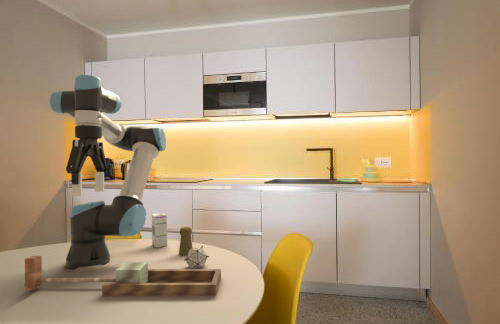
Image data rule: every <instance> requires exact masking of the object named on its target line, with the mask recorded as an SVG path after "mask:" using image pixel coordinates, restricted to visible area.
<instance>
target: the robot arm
mask: <svg viewBox="0 0 500 324" xmlns="http://www.w3.org/2000/svg"><path fill="white" fill-rule="evenodd" d="M73 88H74V90H59V91H54V92H52V93H51V94H50V97H49V105H50V108H51V109H52V111H53V112H54V113H57V114H68V115H69V116H71V117H73V118H74V124H75V127H74V137H75V139H72V146H71V150H70V153H69V157H68V161H67V165H66V167H65V171H66V173H67V174H70V175H71V181H70V182H71V197H77V196H78V197H82V196H83V173H81V171H82V169H83V166H84V165H85V162H86V159H87V158H88V157H90V159H91V161H92V164H93V166H94V169H95V170H96V171H95V172H94V192H101V193H102V192H105V173H107V172H108V169H109V168H108V164H107V160H106V156H105V155H106V154H105V152H104V144H103V142H99V141H98V140H99V139H102V137H103V139H104V140H105V142H107V143H108V144H110V145H112V146H113V147H116V148H118V149H121V150H123V151H128V152H133V155H132V159H131V160H130V163H129V166H128V169H127V172H126V175H125V178H124V181H123V183H122V185H121V189H120V192H119V194H118V195H116V196H114V198H113V199H112V202H111V204H106V203H105V200H97V201H91V202H86V203H79V204H75V205H73V206H72V207H71V209H70V216H69V218H70V247H69V249H68V253H67V254H66V258H65V267H66V268H67V269H72V270H76V269H77V268H81V267H82V268H83V267H84V268H86V267H92V266H103V265H106V264H108V263H109V262H110V261H111V254H110V251H109V248H108V245H107V243H106V236H107V237H124V238H125V237H131V236H136V235H139V234H140V232H142V230H143V229H144V226H145V224H146V221H147V217H146V216H147V211H146V208H145V206H144V203H143V202H142V199H143V196H144V192H145V189H146V185H147V182H148V179H149V175H150V171H151V168H152V166H153V162H154V159H156V158H158V156H159V155H160V154H159V153H160V152H163V151H165V150H166V148H167V139H166V135H165V131H164V129H163V128H162V126H158V125H150V126H149V125H141V126H140V125H139V126H136V125H135V126H132V125H131V126H129V125H128V126H127V125H122V124H120V123H117V122H114V121H113V120H112V119H110V117H108V116H107V115H106V114H111V115H113V114H116V113H118V112H119V111H120V110H121V108H122V100H121V97H120V96H119V95H117V94H116V93H114V91H111V90H107V89H105V88H104V87H103V83H102V80H101V78H100V77H98V76H95V75H92V74H80V75H77V76H75V78H74V87H73ZM104 113H105V114H104ZM76 138H77V139H76Z"/></svg>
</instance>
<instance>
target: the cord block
mask: <svg viewBox="0 0 500 324" xmlns="http://www.w3.org/2000/svg"><path fill="white" fill-rule="evenodd" d="M42 265H43V262H42V255H30V256H28V257H26V258H24V290H36V289H38V288H39V287H42V285H43V284H44V283H147V282H148V269H149V262H147V261H146V262H145V261H144V262H143V261H142V262H141V261H139V262H138V261H136V262H135V261H133V262H132V261H131V262H130V261H128V262H124V263H123V264H121V265H120V266H119V267H117V269H115V277H62V278H61V277H49V278H47V277H45V278H44V277H43V276H42V274H43V273H42V271H43V270H42V268H43V267H42Z"/></svg>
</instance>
